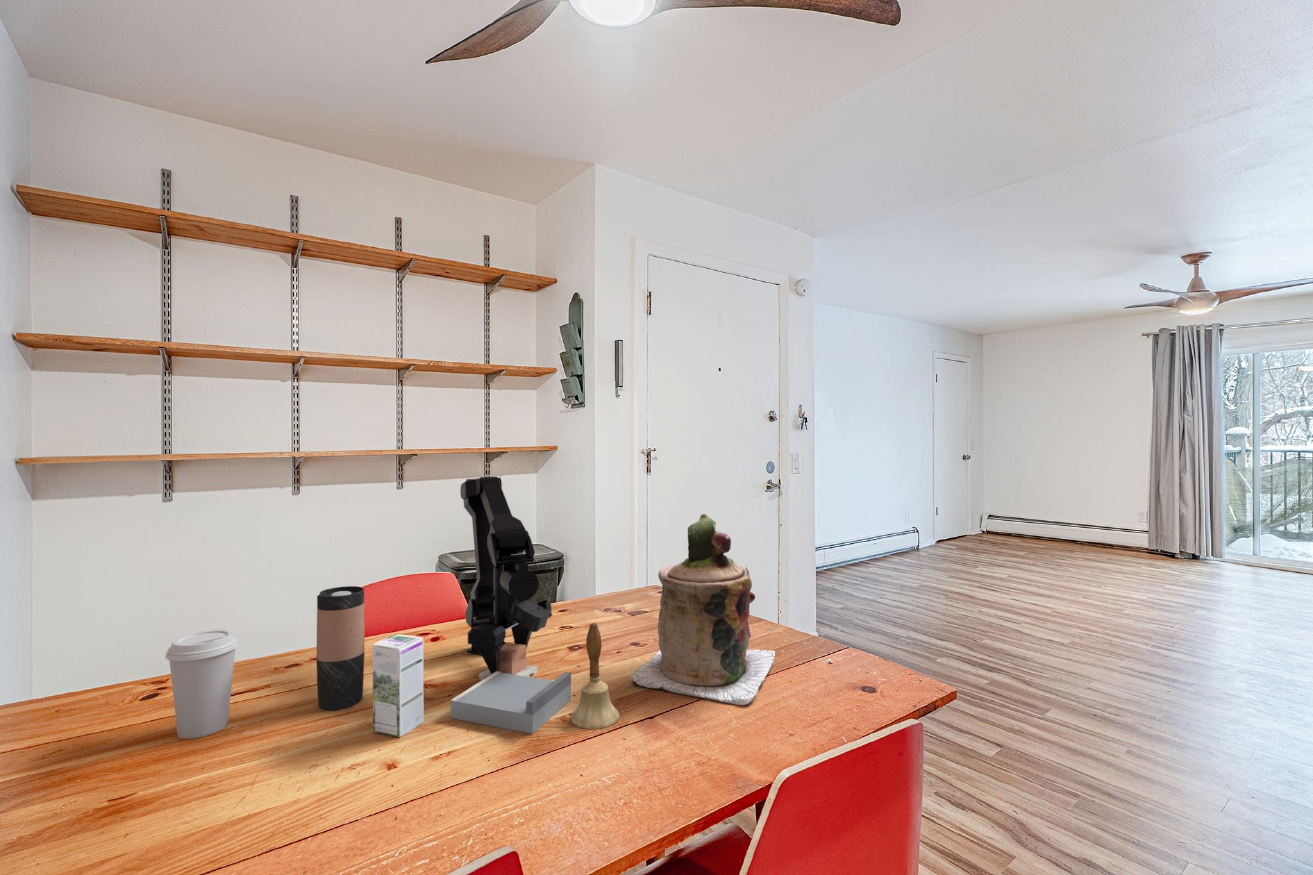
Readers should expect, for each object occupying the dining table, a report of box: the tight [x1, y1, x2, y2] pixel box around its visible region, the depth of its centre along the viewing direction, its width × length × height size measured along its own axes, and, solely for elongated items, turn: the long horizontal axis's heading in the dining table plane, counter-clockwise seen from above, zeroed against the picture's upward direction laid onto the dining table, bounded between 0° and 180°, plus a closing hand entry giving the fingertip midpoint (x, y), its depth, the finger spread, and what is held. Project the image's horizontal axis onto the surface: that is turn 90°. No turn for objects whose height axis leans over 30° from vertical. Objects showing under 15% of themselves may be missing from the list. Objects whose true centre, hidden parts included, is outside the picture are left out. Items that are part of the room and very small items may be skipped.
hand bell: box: [570, 622, 620, 730], centre depth 99 cm, size 8×8×16 cm
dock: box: [450, 671, 572, 735], centre depth 102 cm, size 16×13×5 cm
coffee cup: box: [164, 629, 240, 740], centre depth 95 cm, size 10×10×15 cm
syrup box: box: [372, 633, 425, 738], centre depth 96 cm, size 6×6×14 cm
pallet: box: [478, 641, 538, 681], centre depth 116 cm, size 9×7×6 cm
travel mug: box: [315, 585, 365, 712], centre depth 105 cm, size 8×8×20 cm
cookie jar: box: [630, 513, 776, 706], centre depth 118 cm, size 25×25×32 cm
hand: (508, 666), depth 116 cm, fingers open, 9 cm apart
